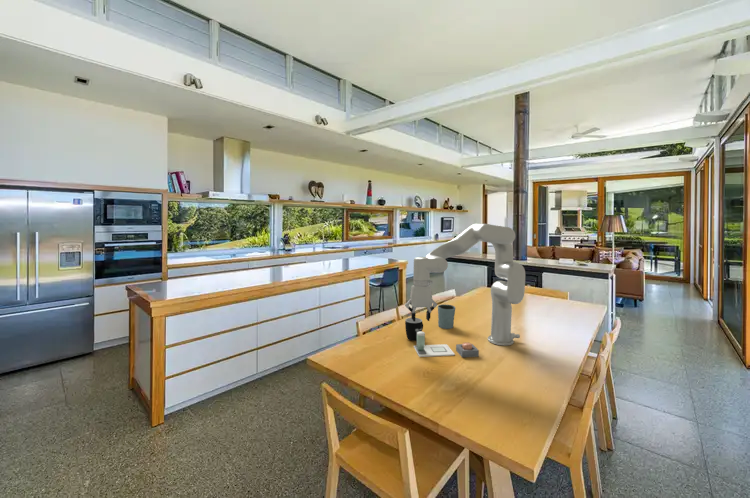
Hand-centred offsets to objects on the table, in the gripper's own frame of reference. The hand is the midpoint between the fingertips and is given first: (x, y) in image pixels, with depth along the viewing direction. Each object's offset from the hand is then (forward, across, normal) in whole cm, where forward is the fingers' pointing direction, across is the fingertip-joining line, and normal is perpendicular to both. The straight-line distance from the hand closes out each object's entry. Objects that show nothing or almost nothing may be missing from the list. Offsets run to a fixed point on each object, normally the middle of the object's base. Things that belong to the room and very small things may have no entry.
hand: (420, 320), depth 160 cm
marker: (+15, 0, 0) cm, 15 cm away
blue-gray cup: (+16, -24, -34) cm, 44 cm away
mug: (+16, -2, -18) cm, 24 cm away
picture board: (+16, -6, 0) cm, 17 cm away
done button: (+14, -21, +4) cm, 26 cm away
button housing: (+16, -22, +4) cm, 27 cm away
